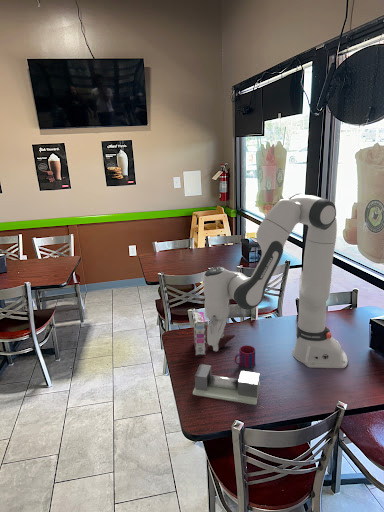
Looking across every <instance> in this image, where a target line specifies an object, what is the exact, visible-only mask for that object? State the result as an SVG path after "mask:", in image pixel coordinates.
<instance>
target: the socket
mask: <svg viewBox="0 0 384 512" xmlns="http://www.w3.org/2000/svg"><path fill="white" fill-rule="evenodd" d="M208 375H212V365H209V364H203V363H200V364H199V366H198V368H197V371H196V372H195V374H194V384H195V385H194V388H195V389H197V390H203V391H207V377H208Z"/></svg>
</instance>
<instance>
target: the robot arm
mask: <svg viewBox="0 0 384 512" xmlns="http://www.w3.org/2000/svg"><path fill="white" fill-rule="evenodd" d="M336 216H337V207H336V205H335V203H334V202H333V201H331V200H329V199H327V198H323V197H319V196H317V195H312V194H311V195H309V194H303V193H294V194H290V195H289V196H288V197H286V198H282V199H279V200H278V201H277V202H276V203H275V205H273V206H272V208H271V209H269V211H268V212H267V214H266V215H265V217H264V219H263V220H262V221H261V222H260V225H259V226H258V228H257V231H256V241H257V243H258V245H259V247H260V250H261V257H260V259H259V261H258V263H257V265H256V267H255V269H254V271H253V273H252V274H251V276H250V277H248V276H247V275H245V274H244V273H242V272H239V271H232V270H228V269H226V268H225V267H223V266H214V267H211V268H209V269H208V270H207V271H206V272H204V276H203V295H204V299H205V300H204V314H205V315H204V317H206V318H207V319H208V320H209V322H208V324H207V327H206V328H207V329H206V337H207V338H206V339H207V343H206V344H208V346H209V345H212V346H213V349H212V350H213V351H214V352H218V351H219V349H220V348H219V345H218V342H219V340H220V338H223V336H224V335H225V334H224V333H225V327H226V324H227V322H228V317H229V315H230V300H234V301H235V303H236V304H237V305H238V306H239V307H240V309H243V310H252V309H255V308H257V307H258V306H260V305H261V304H262V302H263V299H264V296H265V293H266V290H267V287H268V284H269V283H270V280H271V279H272V277H273V275H274V272H275V271H276V270H277V267H278V265H279V263H280V261H281V258H282V256H283V254H284V247H285V245H286V242H287V240H288V238H289V237H290V235H291V234H292V233H293V230H294V229H295V227H296V226H297V224H302V225H306V226H307V227H308V228H307V234H306V240H305V247H304V253H303V263H302V264H303V267H302V271H301V273H300V277H299V290H298V318H297V319H298V320H297V321H298V322H297V325H296V334H295V336H296V340H295V346H294V348H293V350H292V356H293V357H294V359H296V360H297V361H299V362H300V363H303V364H304V365H305V366H306V367H308V368H309V369H310V368H311V369H312V368H314V369H315V368H316V369H317V368H319V369H324V368H325V369H345V368H346V367H347V366H348V356H347V353H346V352H345V351H344V350H343V349H342V346H341V344H340V342H339V341H338V340H337V339H335V338H334V337H333V336H332V333H331V330H330V329H329V326H328V325H327V327H326V321H327V302H328V300H329V297H330V294H331V293H330V292H331V284H332V273H333V271H332V270H333V260H334V255H335V253H334V252H335V247H336V243H337V232H338V227H337V226H338V223H337V218H336Z"/></svg>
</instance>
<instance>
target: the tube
mask: <svg viewBox="0 0 384 512" xmlns="http://www.w3.org/2000/svg"><path fill="white" fill-rule="evenodd" d="M238 381H239V378H236V377H235V378H234V377H228V376H221V375H213V374H211V375H208V377H207V385H208V386H215V387H222V388H228V389H235V390H238Z"/></svg>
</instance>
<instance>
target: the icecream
mask: <svg viewBox="0 0 384 512" xmlns="http://www.w3.org/2000/svg"><path fill="white" fill-rule="evenodd" d="M235 337H236V335H235V334H224V336H223V338H220V340H219V342H218V345H219V349H221V348H225V347H226V345H227V343H229V342H230V341H231V340H232V339H234V338H235ZM206 344H208V343H207V338H206ZM212 350H213V346H212V345H208V346H206V351H212Z"/></svg>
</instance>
